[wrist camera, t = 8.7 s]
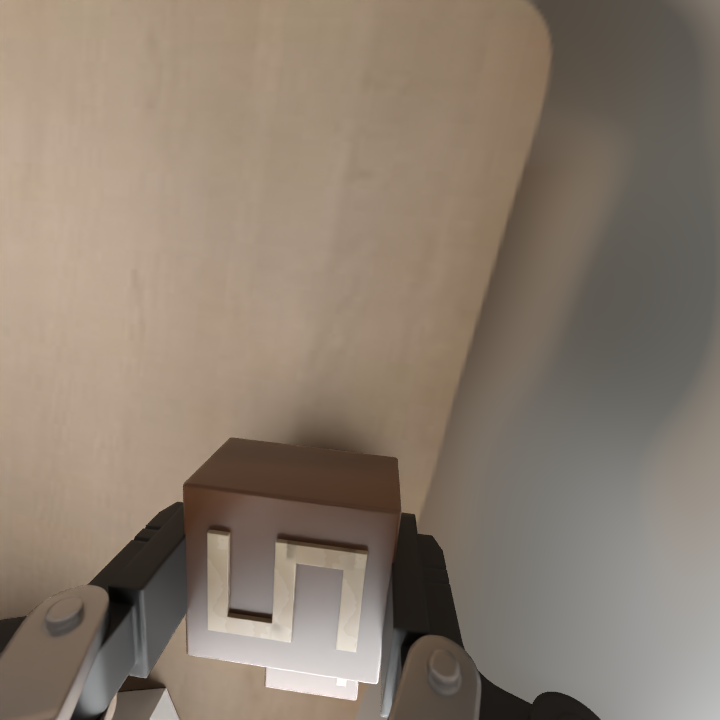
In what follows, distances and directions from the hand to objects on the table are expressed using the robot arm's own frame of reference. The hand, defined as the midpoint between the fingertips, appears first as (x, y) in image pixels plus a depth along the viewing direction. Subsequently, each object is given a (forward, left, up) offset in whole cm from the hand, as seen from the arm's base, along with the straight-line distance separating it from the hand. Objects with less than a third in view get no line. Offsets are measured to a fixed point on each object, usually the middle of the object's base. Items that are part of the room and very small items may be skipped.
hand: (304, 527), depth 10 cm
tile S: (0, 0, 0) cm, 0 cm away
